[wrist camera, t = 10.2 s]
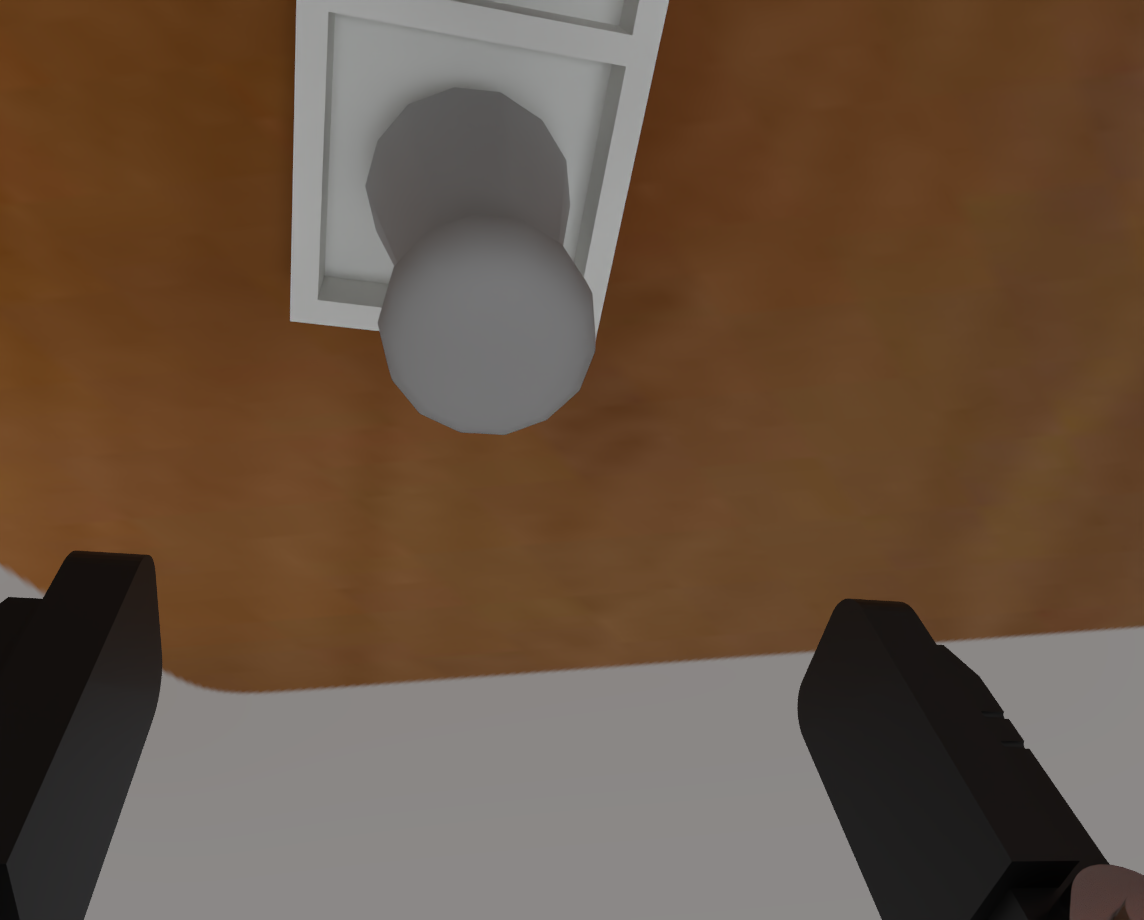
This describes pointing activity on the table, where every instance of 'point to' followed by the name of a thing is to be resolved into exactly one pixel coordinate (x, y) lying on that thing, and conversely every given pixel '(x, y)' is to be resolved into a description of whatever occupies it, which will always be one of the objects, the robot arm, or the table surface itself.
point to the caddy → (437, 63)
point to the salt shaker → (479, 263)
